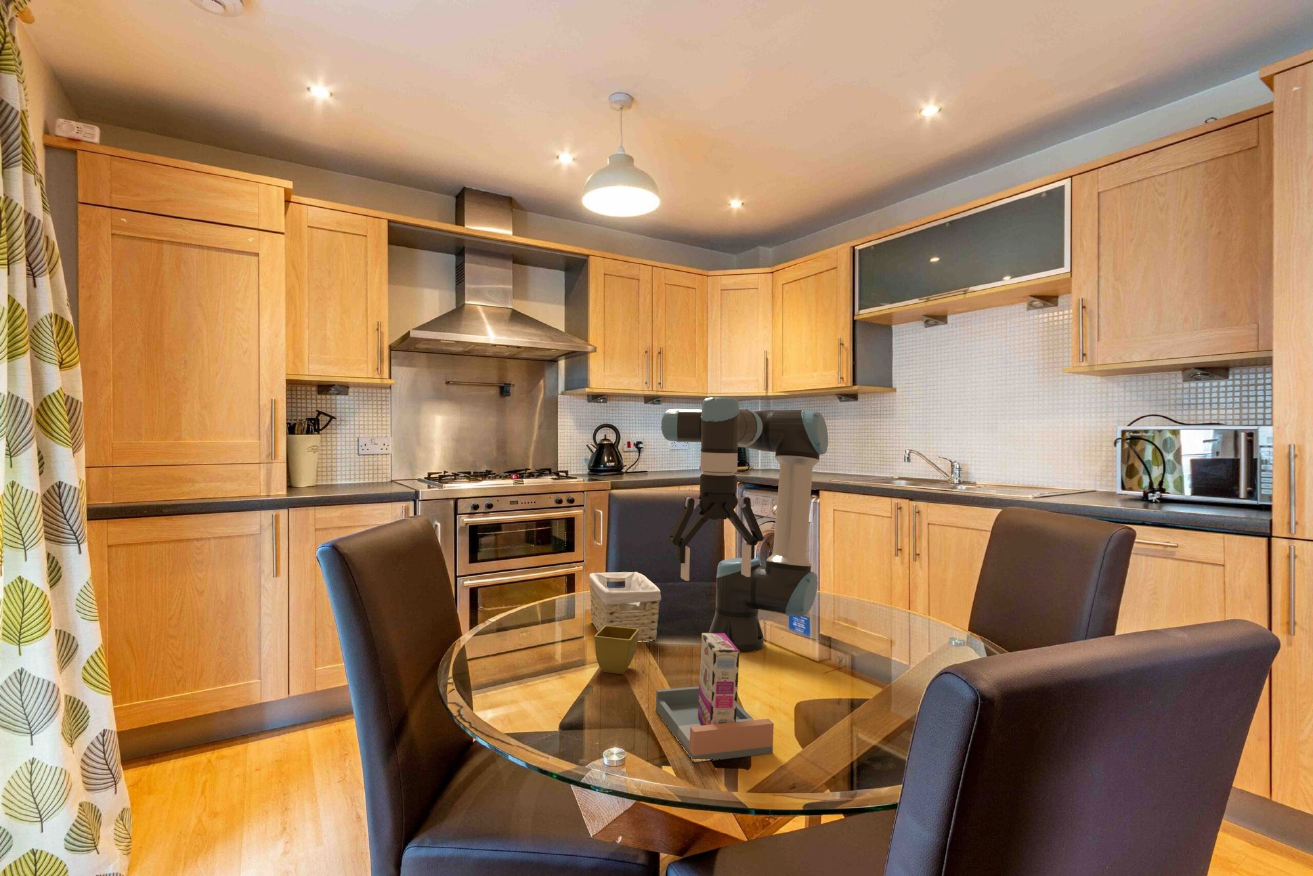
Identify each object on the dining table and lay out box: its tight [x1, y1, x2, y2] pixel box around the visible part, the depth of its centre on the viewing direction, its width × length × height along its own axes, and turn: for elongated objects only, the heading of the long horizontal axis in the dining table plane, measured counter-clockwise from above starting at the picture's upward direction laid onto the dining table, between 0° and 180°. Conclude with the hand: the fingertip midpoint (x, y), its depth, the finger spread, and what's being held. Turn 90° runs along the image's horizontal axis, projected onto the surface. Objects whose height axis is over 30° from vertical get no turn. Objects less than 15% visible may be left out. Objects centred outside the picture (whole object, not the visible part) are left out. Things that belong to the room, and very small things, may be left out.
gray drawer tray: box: [655, 685, 775, 761], centre depth 118 cm, size 15×21×5 cm
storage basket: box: [588, 571, 662, 642], centre depth 178 cm, size 24×16×15 cm
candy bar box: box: [698, 632, 741, 726], centre depth 116 cm, size 11×5×16 cm, turn 8°
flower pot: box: [593, 626, 639, 675], centre depth 147 cm, size 9×9×9 cm
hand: (715, 577), depth 128 cm, fingers open, 13 cm apart
